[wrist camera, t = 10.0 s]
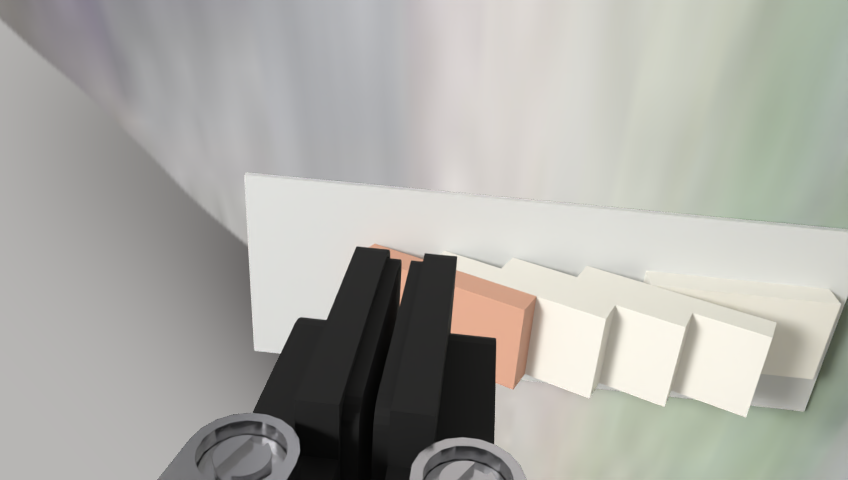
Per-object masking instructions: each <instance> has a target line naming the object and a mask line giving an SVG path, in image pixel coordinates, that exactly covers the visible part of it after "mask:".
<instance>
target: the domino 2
mask: <svg viewBox="0 0 848 480" xmlns="http://www.w3.org/2000/svg"><path fill="white" fill-rule="evenodd" d="M440 255H448V256H457V267H456V270H457V271H460V272H464V273H467V274H470V275H473V276H476V277H479V278H482V279H485V280H488V281H491V282H494V283H497V284H500V285H503V286H507V287H510V288H513V289H516V290H519V291H522V292H525V293H528V294H531V295H534V296H536V303H535V310H534V316H533V323H532V329H531V336H530V343H529V349H528V356H527V363H526V369H525V374H526V375H529V376H531V377H534V378H537V379H539V380H542V381H544V382H547V383H550V384H552V385H555V386H558V387H560V388H563V389H565V390H568V391H571V392H573V393H576V394H579V395H581V396H584V397H587V398H589V399H590V397H591V396H592V394H593V392H594V390H595V389H596V387H597V385H598V384H599V381H600V376H601V371H602V366H603V362H604V357H605V352H606V347H607V343H608V338H609V333H610V328H611V324H612V319H613V314H614V309H615V305H614V304H611V303H608V302H605V301H601V300H598V299H595V298H592V297H589V296H586V295H583V294H579V293H576V292H573V291H570V290H567V289H564V288H561V287H557V286H554V285H551V284H548V283H545V282H542V281H539V280H535V279H532V278H529V277H526V276H523V275H520V274H517V273H513V272H510V271H507V270H504V269H501V268H498V267H495V266H491V265H488V264H485V263H482V262H479V261H476V260H473V259H470V258H466V257H463V256H460V255H457V254H454V253H451V252H448V251H444V252H442V253H441V254H440Z"/></svg>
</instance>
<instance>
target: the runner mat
mask: <svg viewBox="0 0 848 480" xmlns="http://www.w3.org/2000/svg"><path fill="white" fill-rule="evenodd" d="M244 180H245V198H246V215H247V232H248V250H249V265H250V266H249V267H250V284H251V299H252V300H251V302H252V319H253V336H254V351H263V352H271V353H280V354H281V352H282V349H283V347H284V345H285V343H286V341H287V339H288V337H289V335H290V333H291V330H292V328H293V326H294V324H295V322H296V321H297V319H298V318H300V317H304V318H314V319H323V320H327V318H328V315H329V313H330V310H331V308H332V305H333V303H334V300H335V298H336V295H337V293H338V290H339V288H340V285H341V283H342V280H343V278H344V276H345V273H346V271H347V268H348V266H349V263H350V261H351V258H352V256H353V253H354V251H355V249H356V247H357V246H359V247H370V246H372V245H373V244H377V245H381V246H384V247H387V248H390V249H393V250H396V251H399V252H402V253H405V254H408V255H411V256H414V257H417V258H420V259H424V254H425V253H428V254H438V255H440V254H441V253H442V252H444V251H448V252H451V253H454V254H457V255H460V256H463V257H466V258H470V259H473V260H476V261H479V262H482V263H485V264H488V265H491V266H495V267H498V268H502V267H503V266H504V265H505V264H506V263H508V262H509V261H510V260H511V259H512V258H517V259H520V260H523V261H526V262H530V263H533V264H536V265H539V266H542V267H546V268H549V269H552V270H555V271H559V272H562V273H565V274H568V275H572V276H575V277H578V276H579V274H580V273H581V272H582V271H583V270H584V268H585V267H586V266H590V267H593V268H596V269H600V270H603V271H606V272H610V273H613V274H616V275H620V276H623V277H626V278H630V279H633V280H636V281H640V282H644V278H645V273H646V271H654V272H664V273H674V274H684V275H694V276H704V277H715V278H725V279H735V280H745V281H755V282H765V283H775V284H785V285H795V286H805V287H815V288H825V289H830V290H831V292H832V293H833V294H834V296H835V297H836V298H837V300H838V301H839V302H840V303H841V306H840V308H839V311H838V314H837V316H836V319H835V322H834V324H833V327H832V330H831V332H830V335H829V338H828V340H827V343H826V346H825V348H824V351H823V354H822V356H821V359H820V362H819V364H818V367H817V370H816V372H815V375H814V378H813V379H805V378H795V377H786V376H777V375H767V374H760V377H759V380H758V383H757V386H756V389H755V392H754V395H753V398H752V401H751V404H750V406H759V407H768V408H777V409H786V410H795V411H805V408H806V405H807V403H808V400H809V398H810V395H811V392H812V390H813V387H814V384H815V382H816V379H817V376H818V374H819V371H820V369H821V366H822V363H823V361H824V358H825V355H826V353H827V350H828V347H829V345H830V342H831V339H832V337H833V334H834V332H835V329H836V326H837V324H838V321H839V318H840V316H841V313H842V310H843V308H844V305H845V302H846V300H847V297H848V229H840V228H830V227H819V226H809V225H798V224H788V223H777V222H766V221H756V220H745V219H735V218H724V217H714V216H703V215H692V214H682V213H671V212H661V211H650V210H640V209H629V208H618V207H608V206H597V205H587V204H576V203H566V202H555V201H544V200H534V199H523V198H513V197H502V196H492V195H481V194H470V193H460V192H449V191H439V190H428V189H418V188H407V187H396V186H386V185H375V184H365V183H354V182H344V181H333V180H322V179H312V178H301V177H291V176H280V175H270V174H259V173H248V172H246V173H245V175H244ZM521 380H524V381H533V382H542V383H547V382H544V381H542V380H539V379H537V378H534V377H531V376H529V375H526V374H524V376H523V377H522V378H521ZM596 389H605V390H614V391H620V390H617V389H614V388H612V387H609V386H606V385H604V384H601V383H599V384H598V385H597V387H596ZM669 397H678V398H687V399H693V398H690V397H688V396H685V395H682V394H679V393H676V392H674V391H671V393H670V396H669Z"/></svg>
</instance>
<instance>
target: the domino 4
mask: <svg viewBox="0 0 848 480" xmlns="http://www.w3.org/2000/svg"><path fill="white" fill-rule="evenodd" d="M578 278H581V279H585V280H588V281H591V282H594V283H597V284H601V285H604V286H607V287H610V288H614V289H617V290H620V291H623V292H627V293H630V294H633V295H636V296H640V297H643V298H646V299H649V300H653V301H656V302H659V303H662V304H665V305H669V306H672V307H675V308H678V309H682V310H685V311H688V312H691V313H692V317H691V320H690V324H689V328H688V331H687V335H686V339H685V343H684V346H683V350H682V354H681V358H680V361H679V365H678V369H677V372H676V376H675V380H674V384H673V387H672V391H674V392H676V393H679V394H682V395H685V396H688V397H690V398H693V399H696V400H699V401H702V402H704V403H707V404H710V405H713V406H716V407H718V408H721V409H724V410H727V411H730V412H732V413H735V414H738V415H741V416H744V417H746V416H747V413H748V410H749V407H750V404H751V401H752V398H753V395H754V392H755V389H756V386H757V383H758V380H759V377H760V374H761V371H762V368H763V365H764V362H765V359H766V356H767V353H768V350H769V347H770V344H771V341H772V338H773V334H774V330H775V327H776V322H773V321H770V320H766V319H763V318H760V317H756V316H753V315H750V314H746V313H743V312H740V311H736V310H733V309H730V308H726V307H723V306H720V305H716V304H713V303H710V302H706V301H703V300H700V299H696V298H693V297H690V296H686V295H683V294H680V293H676V292H673V291H670V290H666V289H663V288H660V287H656V286H653V285H650V284H646V283H643V282H640V281H636V280H633V279H630V278H626V277H623V276H620V275H616V274H613V273H610V272H606V271H603V270H600V269H596V268H593V267H590V266H586V267H585V268H584V270H583V271H582V272H581V273H580V274H579V276H578Z"/></svg>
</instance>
